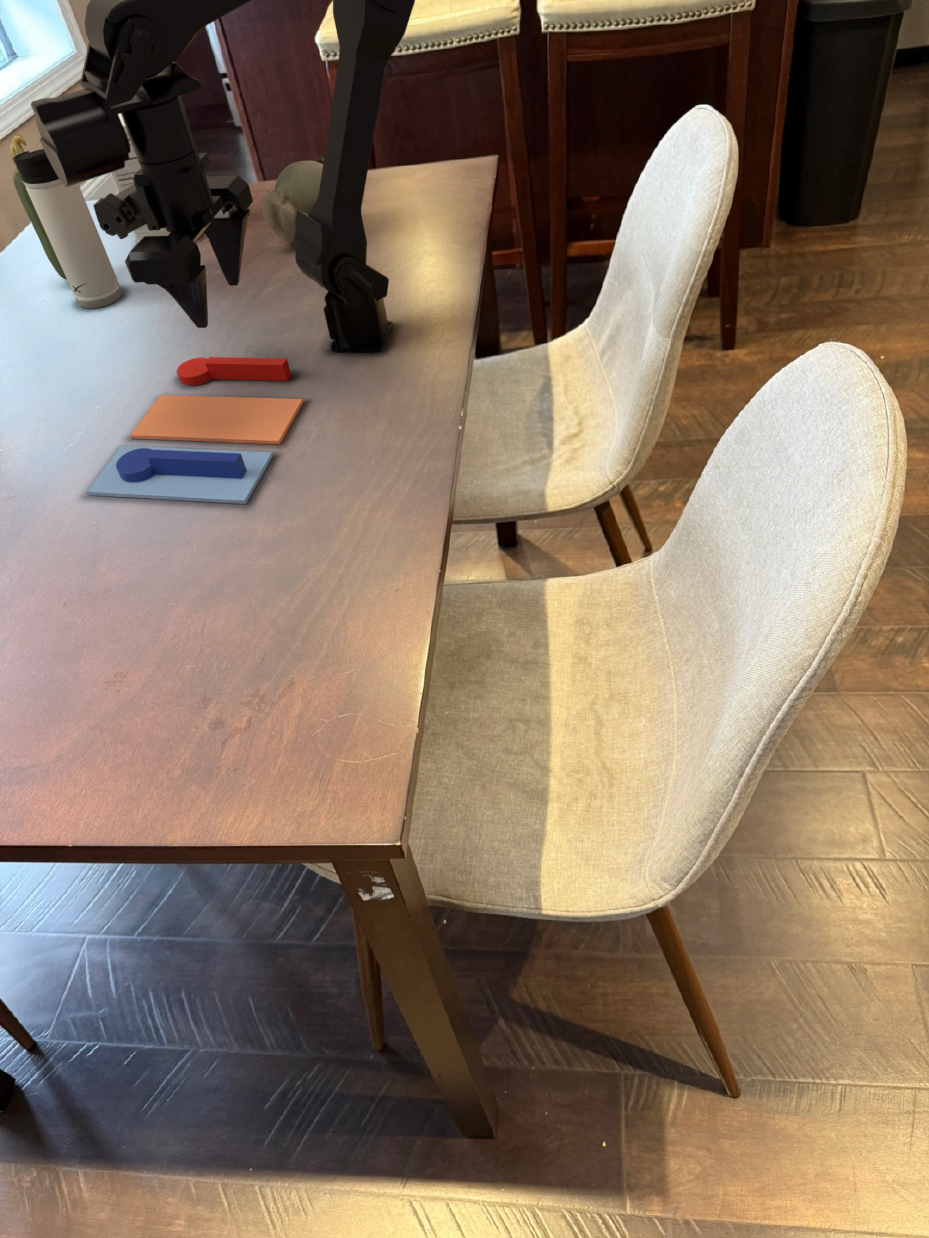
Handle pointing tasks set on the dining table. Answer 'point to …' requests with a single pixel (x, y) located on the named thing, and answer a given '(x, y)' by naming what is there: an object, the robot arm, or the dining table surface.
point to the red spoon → (233, 369)
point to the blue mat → (184, 481)
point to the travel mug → (70, 231)
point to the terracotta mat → (218, 419)
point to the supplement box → (125, 180)
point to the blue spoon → (179, 464)
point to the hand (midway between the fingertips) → (218, 305)
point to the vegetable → (32, 207)
